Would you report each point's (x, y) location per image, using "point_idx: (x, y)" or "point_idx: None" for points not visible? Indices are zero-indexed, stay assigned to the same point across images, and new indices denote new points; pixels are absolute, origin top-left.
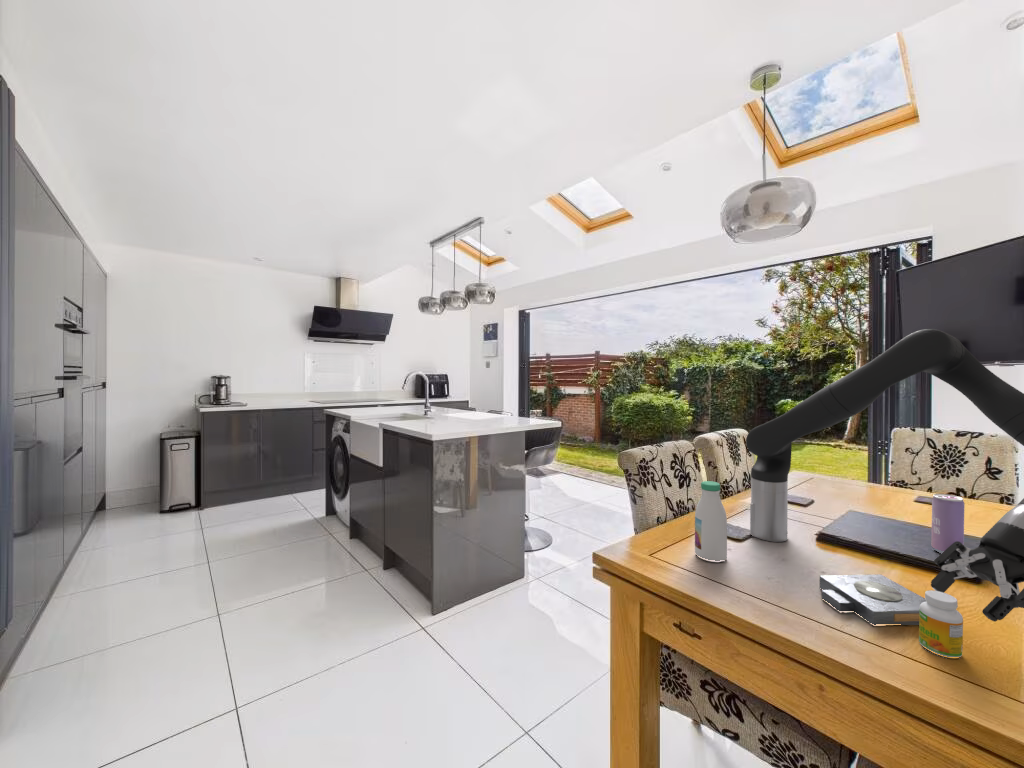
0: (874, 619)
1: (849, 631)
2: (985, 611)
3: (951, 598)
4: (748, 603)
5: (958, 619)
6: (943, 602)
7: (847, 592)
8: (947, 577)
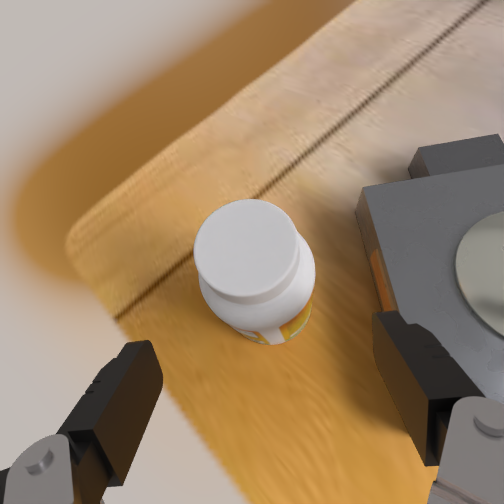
0: (359, 203)
1: (323, 154)
2: (134, 343)
3: (224, 272)
4: (404, 24)
5: (199, 282)
6: (203, 223)
7: (483, 175)
8: (414, 397)
